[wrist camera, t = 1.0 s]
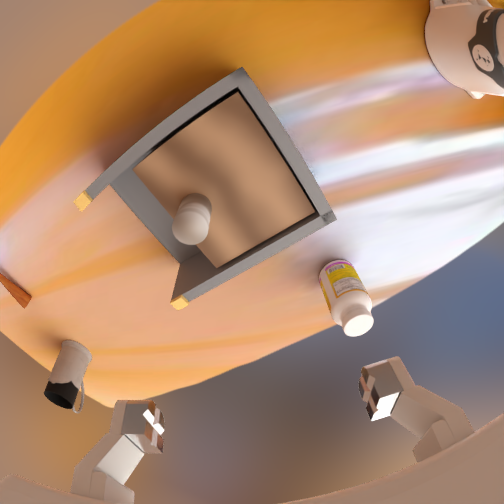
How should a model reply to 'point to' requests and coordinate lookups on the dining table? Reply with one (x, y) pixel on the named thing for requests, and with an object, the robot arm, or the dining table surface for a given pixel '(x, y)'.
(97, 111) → the dining table surface
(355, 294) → the supplement bottle
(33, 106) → the dining table surface
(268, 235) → the wooden block with knob
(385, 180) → the dining table surface
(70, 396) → the glass holder
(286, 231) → the bay
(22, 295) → the purple maraca
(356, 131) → the dining table surface
